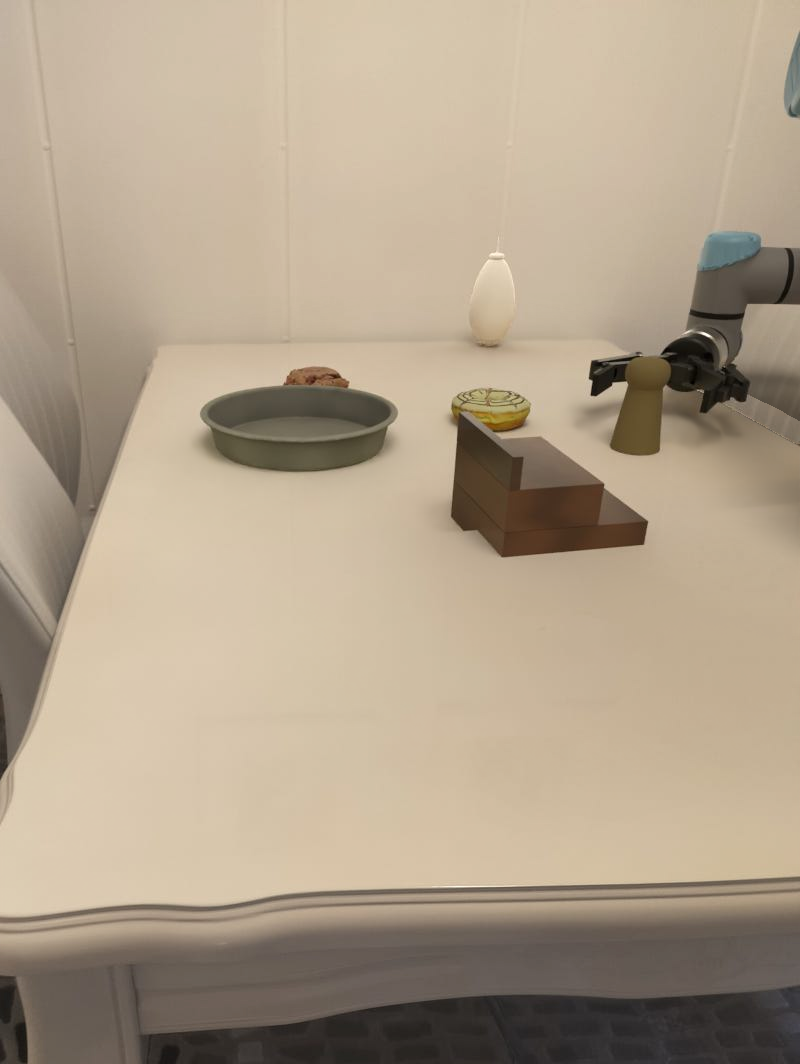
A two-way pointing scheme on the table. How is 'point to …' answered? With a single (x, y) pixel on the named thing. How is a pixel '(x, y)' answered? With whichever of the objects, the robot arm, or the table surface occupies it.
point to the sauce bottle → (492, 301)
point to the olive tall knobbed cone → (641, 407)
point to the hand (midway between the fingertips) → (648, 393)
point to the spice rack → (534, 497)
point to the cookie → (316, 377)
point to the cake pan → (299, 426)
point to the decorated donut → (492, 407)
